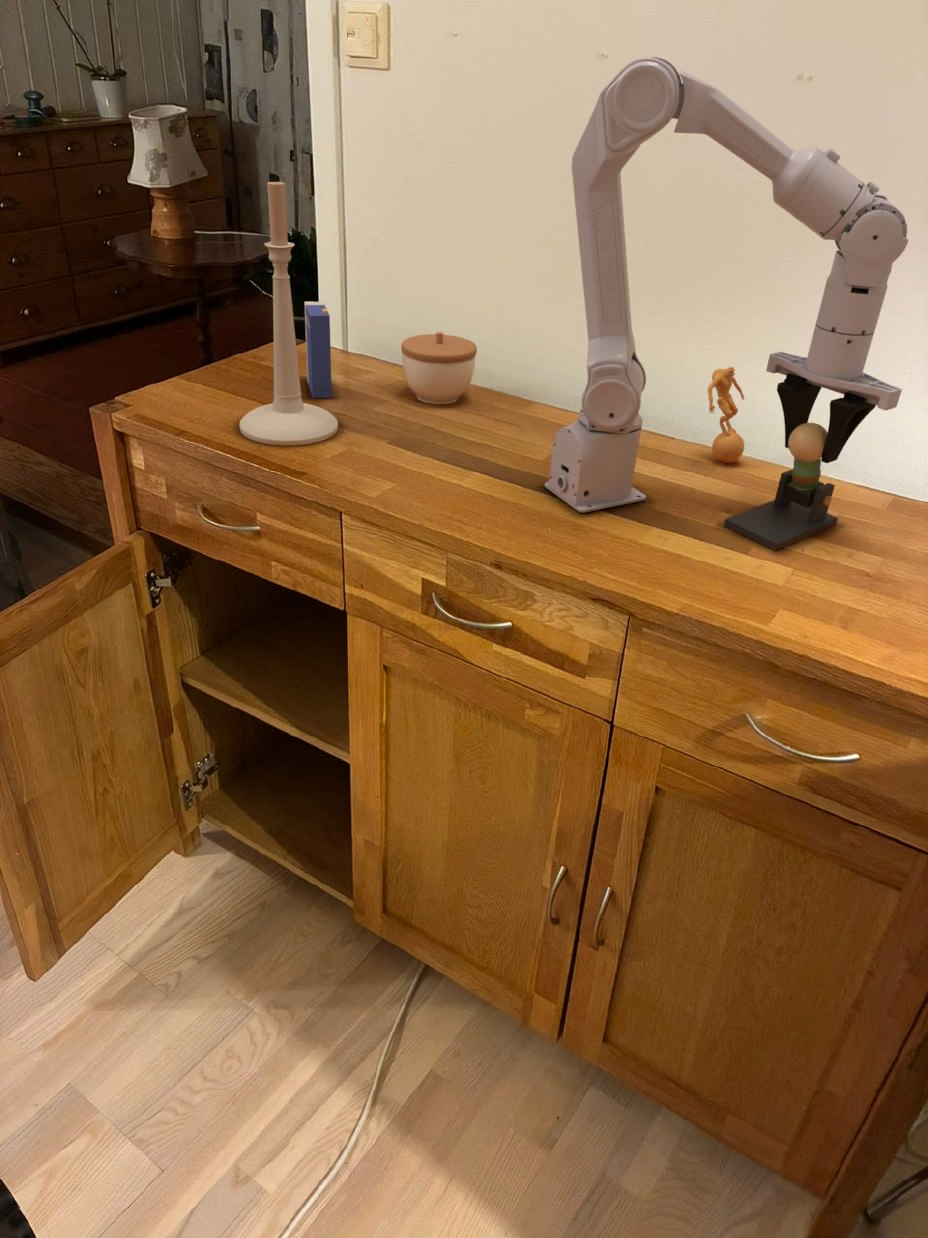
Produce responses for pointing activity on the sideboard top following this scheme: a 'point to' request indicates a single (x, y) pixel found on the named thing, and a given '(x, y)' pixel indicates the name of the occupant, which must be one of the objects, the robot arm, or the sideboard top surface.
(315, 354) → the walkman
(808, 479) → the peg doll
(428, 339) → the trinket box
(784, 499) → the toy stand
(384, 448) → the sideboard top surface
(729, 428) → the figurine
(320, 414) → the candlestick
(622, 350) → the robot arm
